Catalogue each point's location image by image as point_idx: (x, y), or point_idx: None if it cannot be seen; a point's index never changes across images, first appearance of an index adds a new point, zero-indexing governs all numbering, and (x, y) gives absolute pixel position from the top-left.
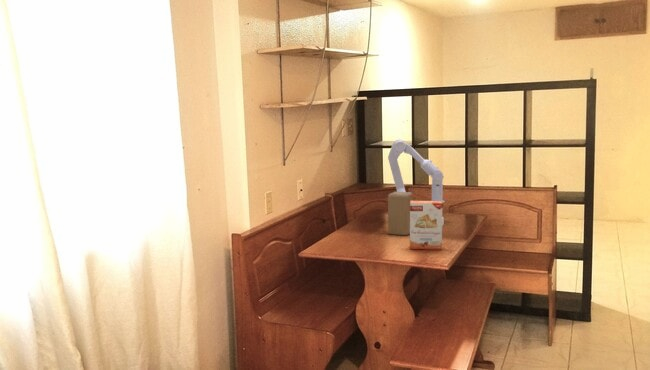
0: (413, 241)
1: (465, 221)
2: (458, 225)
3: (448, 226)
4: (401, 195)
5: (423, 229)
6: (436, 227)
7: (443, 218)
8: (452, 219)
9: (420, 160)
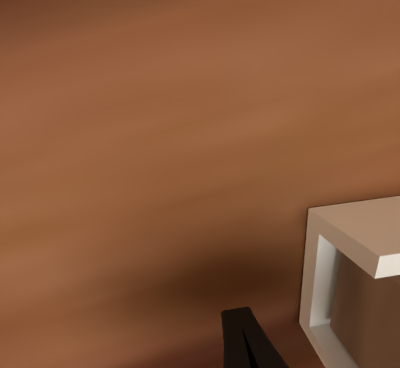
0: None
1: (28, 11)
2: (318, 46)
3: (382, 142)
4: None
5: None
6: None
7: (374, 243)
8: (10, 208)
9: None
